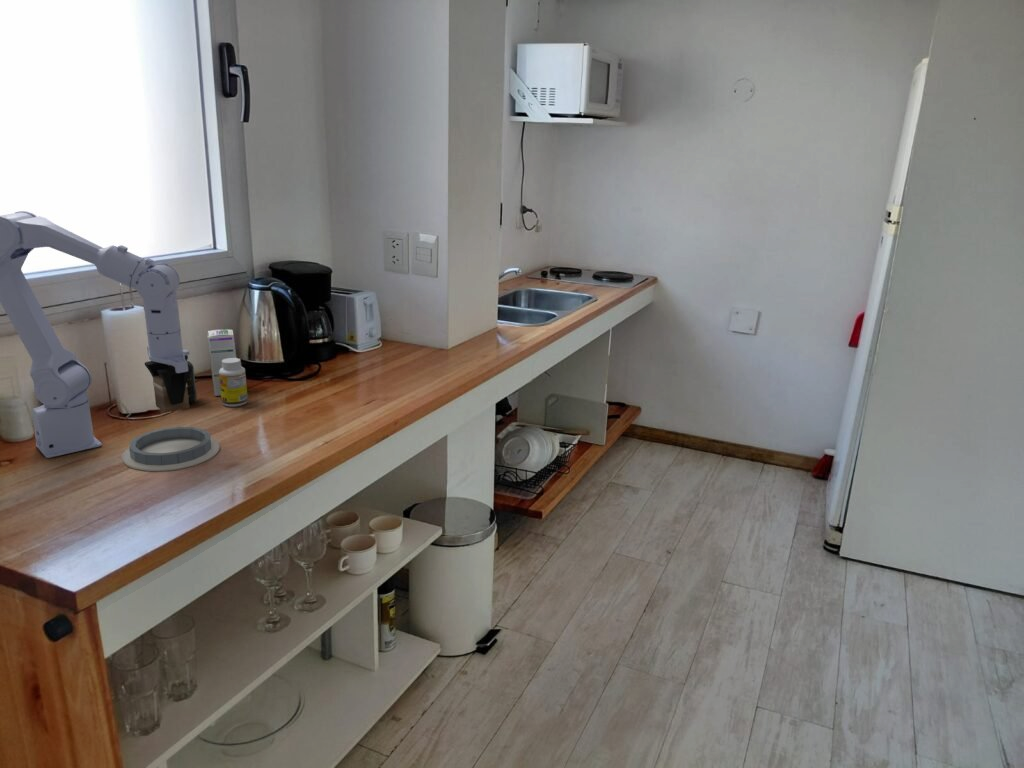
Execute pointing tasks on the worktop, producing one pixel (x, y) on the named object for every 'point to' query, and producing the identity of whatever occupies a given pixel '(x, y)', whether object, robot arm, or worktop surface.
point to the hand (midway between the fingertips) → (171, 399)
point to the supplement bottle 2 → (233, 383)
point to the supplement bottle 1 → (191, 384)
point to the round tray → (170, 449)
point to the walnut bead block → (162, 396)
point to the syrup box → (220, 353)
